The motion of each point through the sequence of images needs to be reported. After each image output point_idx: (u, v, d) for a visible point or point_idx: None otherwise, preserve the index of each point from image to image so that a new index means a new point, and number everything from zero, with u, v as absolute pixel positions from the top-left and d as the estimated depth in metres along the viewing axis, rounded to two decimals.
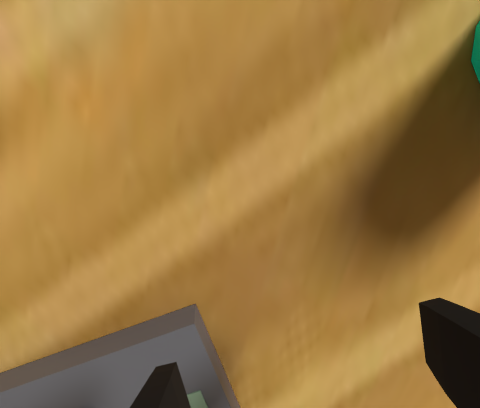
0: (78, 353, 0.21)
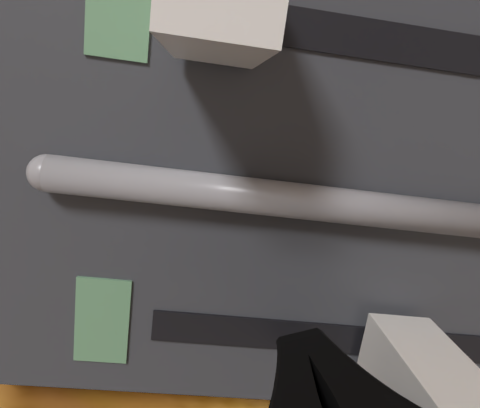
0: None
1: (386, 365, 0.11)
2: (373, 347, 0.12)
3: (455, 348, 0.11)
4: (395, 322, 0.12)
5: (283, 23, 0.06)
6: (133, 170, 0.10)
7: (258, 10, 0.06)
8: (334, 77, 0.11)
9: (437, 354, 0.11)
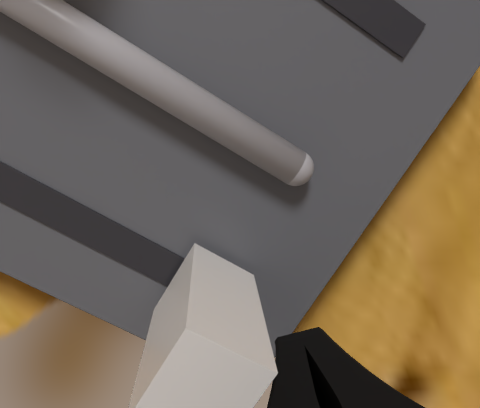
0: None
1: (178, 287, 0.10)
2: (180, 274, 0.11)
3: (255, 299, 0.10)
4: (214, 259, 0.11)
5: None
6: None
7: None
8: None
9: (231, 292, 0.10)
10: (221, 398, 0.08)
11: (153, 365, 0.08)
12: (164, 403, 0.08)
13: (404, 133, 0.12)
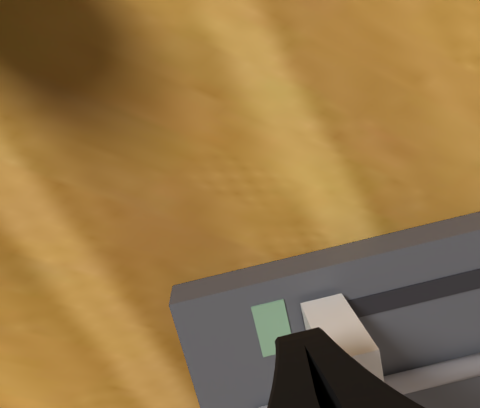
0: None
1: None
2: None
3: None
4: None
5: None
6: None
7: None
8: (391, 319, 0.20)
9: None
10: None
11: None
12: None
13: None
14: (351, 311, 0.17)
